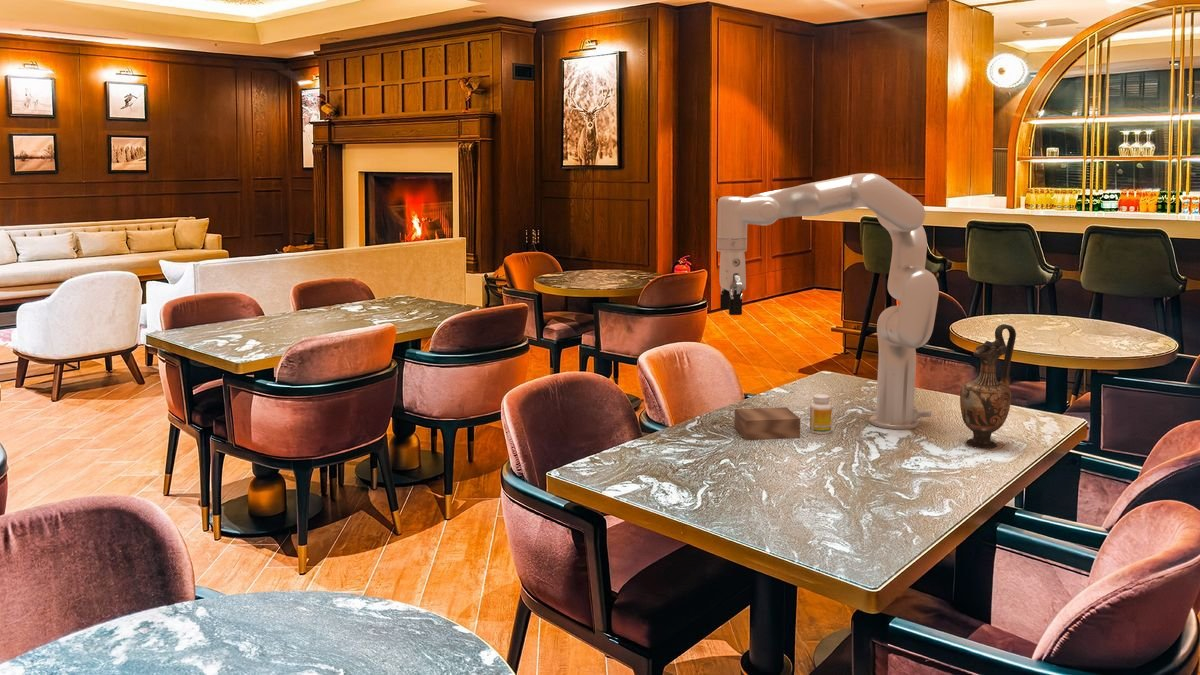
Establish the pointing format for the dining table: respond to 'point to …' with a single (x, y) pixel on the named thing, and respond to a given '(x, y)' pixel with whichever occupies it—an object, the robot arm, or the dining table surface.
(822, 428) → the supplement bottle
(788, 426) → the walnut plinth
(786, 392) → the dining table surface
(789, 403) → the dining table surface
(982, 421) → the vase
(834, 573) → the dining table surface
